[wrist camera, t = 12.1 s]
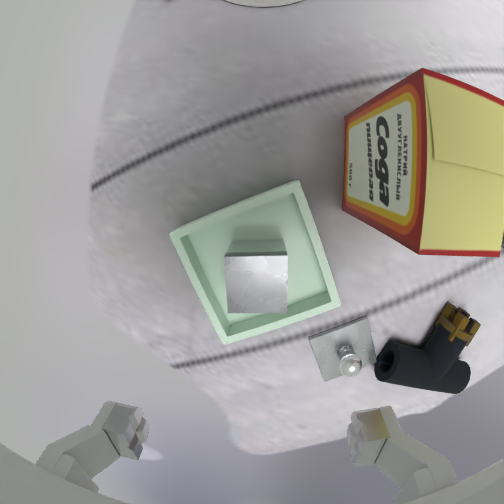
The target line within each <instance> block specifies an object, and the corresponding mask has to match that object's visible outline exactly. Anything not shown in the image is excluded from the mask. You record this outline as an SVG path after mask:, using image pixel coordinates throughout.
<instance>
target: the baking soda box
mask: <svg viewBox="0 0 504 504" xmlns="http://www.w3.org/2000/svg"><path fill="white" fill-rule="evenodd" d="M342 211H344V212H346V213H348V214H350V215H352V216H354V217H355V218H357V219H359V220H361V221H363V222H364V223H366V224H368V225H370V226H371V227H373V228H375V229H377V230H378V231H380V232H382V233H384V234H385V235H387V236H389V237H390V238H392V239H394V240H395V241H397V242H399V243H400V244H402V245H404V246H405V247H407V248H409V249H410V250H412V251H414V252H415V253H417V254H418V255H448V256H482V257H499V256H500V250H501V245H502V239H503V232H504V100H502V99H500V98H498V97H495V96H493V95H491V94H489V93H487V92H485V91H483V90H480V89H478V88H476V87H473V86H471V85H469V84H466V83H464V82H461V81H459V80H456V79H453V78H451V77H448V76H445V75H442V74H440V73H437V72H434V71H430V70H427V69H424V68H421V69H420V70H418V71H416V72H415V73H413V74H411V75H410V76H408V77H406V78H405V79H403V80H401V81H400V82H398V83H396V84H395V85H393V86H391V87H390V88H388V89H387V90H385V91H383V92H382V93H380V94H379V95H377V96H375V97H374V98H372V99H371V100H369V101H368V102H366V103H365V104H363V105H361V106H360V107H358V108H357V109H355V110H354V111H352V112H351V113H349V114H348V115H346V116H345V156H344V187H343V206H342Z"/></svg>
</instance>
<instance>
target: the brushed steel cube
mask: <svg viewBox="0 0 504 504" xmlns="http://www.w3.org/2000/svg"><path fill="white" fill-rule="evenodd" d="M224 265H225V280H226V294H227V307H228V313H287V291H288V255H287V251H286V247H285V243H284V239H266V240H232V241H231V243H230V245H229V247H228V250H227V252H226V254H225V256H224Z"/></svg>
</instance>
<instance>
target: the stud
mask: <svg viewBox="0 0 504 504" xmlns="http://www.w3.org/2000/svg"><path fill="white" fill-rule="evenodd" d="M309 340H310V343H311V346H312V348H313V351H314V354H315V356H316V359H317V362H318V365H319V367H320V370H321V373H322V376H323V378H324V381H328V380H331V379H334V378H337V377H340V376H342V375H345V376H348V377H352V376H355V375H357V374H358V373H359V372H360V370H361V368H364V367H366V366H369V365H371V364H374V363H376V362H377V360H376V355H375V350H374V345H373V340H372V336H371V331H370V327H369V322H368V318H367V317H366V316H364V317H362V318H359V319H357V320H354V321H352V322H349V323H346V324H344V325H341V326H339V327H336V328H333V329H331V330H328V331H325V332H322V333H319V334H317V335H314V336H311V337H309Z"/></svg>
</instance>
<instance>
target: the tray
mask: <svg viewBox="0 0 504 504" xmlns="http://www.w3.org/2000/svg"><path fill="white" fill-rule="evenodd" d="M169 235H170V238H171V240H172V242H173V244H174V246H175V249H176V251H177V253H178V255H179V257H180V259H181V262H182V264H183V266H184V268H185V270H186V272H187V274H188V276H189V278H190V280H191V283H192V285H193V287H194V289H195V291H196V293H197V295H198V297H199V299H200V301H201V303H202V305H203V307H204V309H205V311H206V313H207V315H208V317H209V318H210V320H211V322H212V324H213V326H214V328H215V330H216V332H217V334H218V336H219V338H220V339H221V341H222V343H223V345H225V344H228V343H232V342H235V341H239V340H242V339H245V338H249V337H252V336H255V335H258V334H262V333H265V332H268V331H271V330H274V329H277V328H280V327H283V326H286V325H289V324H292V323H295V322H298V321H301V320H304V319H306V318H309V317H312V316H315V315H318V314H320V313H323V312H326V311H328V310H331V309H334V308H336V307H339V306H341V302H340V299H339V296H338V292H337V289H336V286H335V283H334V279H333V276H332V273H331V270H330V267H329V264H328V261H327V258H326V255H325V252H324V249H323V246H322V243H321V240H320V237H319V234H318V231H317V228H316V225H315V222H314V220H313V217H312V214H311V211H310V209H309V206H308V203H307V200H306V198H305V195H304V192H303V190H302V187H301V184H300V182H299V181H298V180H294V181H291V182H288V183H286V184H283V185H280V186H278V187H275V188H272V189H270V190H267V191H265V192H262V193H259V194H257V195H254V196H252V197H249V198H247V199H244V200H242V201H239V202H237V203H234V204H232V205H229V206H227V207H224V208H222V209H220V210H217V211H215V212H212V213H210V214H208V215H205V216H203V217H201V218H198V219H196V220H193V221H191V222H189V223H186V224H184V225H182V226H180V227H178V228H176V229H175V230H173V231H172V232H170V233H169ZM266 239H284V243H285V247H286V251H287V255H288V291H287V313H228V307H227V294H226V280H225V265H224V256H225V254H226V252H227V250H228V247H229V245H230V243H231V241H232V240H266Z"/></svg>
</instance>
